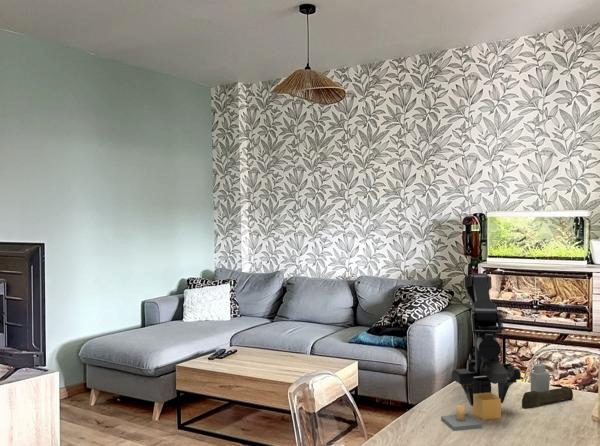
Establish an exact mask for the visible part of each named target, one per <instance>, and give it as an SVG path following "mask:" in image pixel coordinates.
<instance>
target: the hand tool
mask: <svg viewBox="0 0 600 446" xmlns="http://www.w3.org/2000/svg"><path fill="white" fill-rule="evenodd" d="M573 399H574V391H573V389H572V388H570V387H569V386H566V385H564V386H561V387H560V388H554V389H549V391H545V392H537V391H531V390H530V391H526V392H525V393H524V394H523V396H522V399H521V408H523V409H532V408H538V407H539V408H540V406H541V405H543V404H544V405H545V404H549V403H550V404H551V403H554V402H559V401H565V400H569V401H572V400H573Z"/></svg>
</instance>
